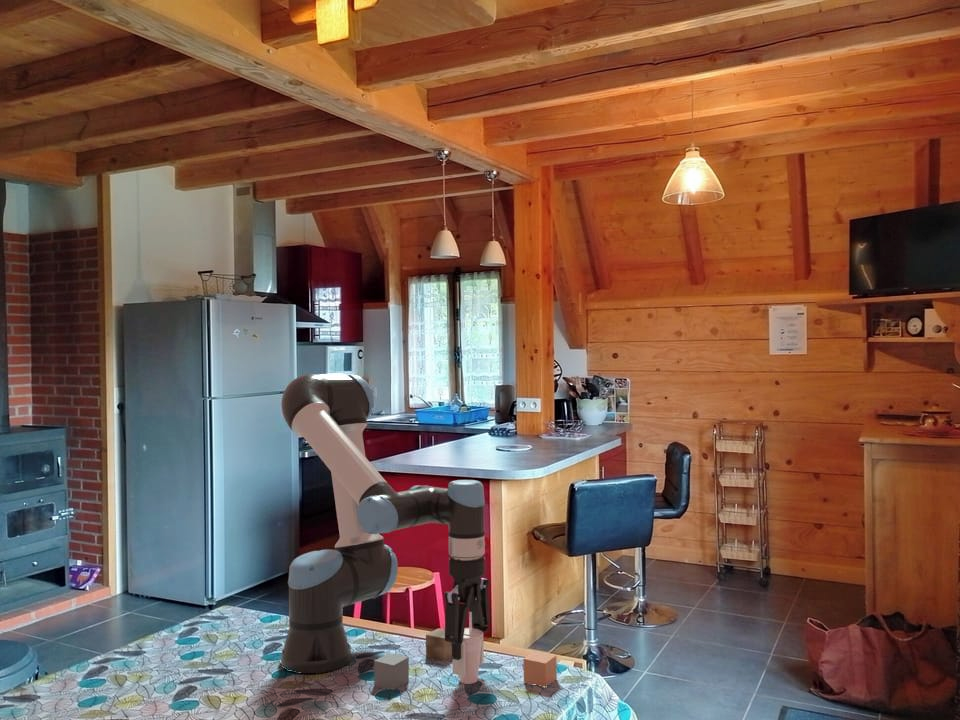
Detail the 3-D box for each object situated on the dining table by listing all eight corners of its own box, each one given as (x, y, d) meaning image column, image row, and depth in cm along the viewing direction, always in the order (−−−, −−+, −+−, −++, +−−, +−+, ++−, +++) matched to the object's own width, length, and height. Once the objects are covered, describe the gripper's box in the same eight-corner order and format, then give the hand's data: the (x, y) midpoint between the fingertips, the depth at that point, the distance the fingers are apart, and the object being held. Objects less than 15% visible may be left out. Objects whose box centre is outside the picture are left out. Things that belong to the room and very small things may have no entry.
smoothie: (480, 687, 151) (479, 617, 151) (449, 685, 152) (448, 615, 152) (486, 675, 157) (485, 607, 157) (457, 673, 158) (456, 606, 159)
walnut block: (426, 657, 168) (425, 634, 168) (438, 650, 172) (438, 628, 172) (444, 661, 165) (444, 638, 166) (456, 653, 170) (456, 631, 170)
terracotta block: (523, 683, 153) (523, 658, 153) (535, 675, 157) (534, 651, 157) (545, 688, 150) (545, 663, 150) (556, 679, 154) (556, 655, 154)
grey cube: (374, 685, 153) (374, 660, 153) (389, 676, 157) (389, 652, 157) (393, 690, 150) (393, 665, 150) (408, 681, 154) (408, 657, 154)
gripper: (456, 568, 145) (457, 688, 144) (505, 548, 161) (507, 656, 161) (425, 563, 149) (426, 681, 148) (476, 545, 165) (477, 650, 165)
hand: (468, 668), depth 154 cm, fingers closed on smoothie, 6 cm apart
